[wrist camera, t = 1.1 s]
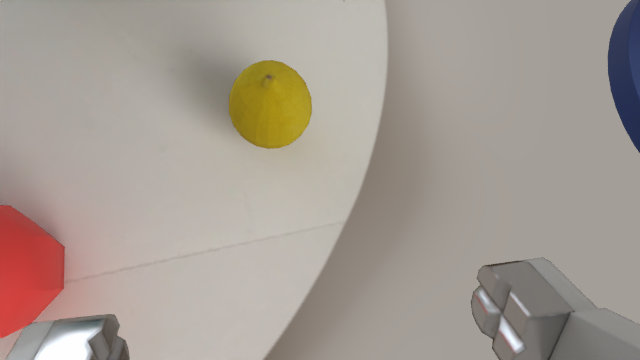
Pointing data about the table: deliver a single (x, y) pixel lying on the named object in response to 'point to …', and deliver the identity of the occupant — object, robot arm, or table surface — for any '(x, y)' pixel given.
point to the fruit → (270, 104)
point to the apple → (26, 270)
